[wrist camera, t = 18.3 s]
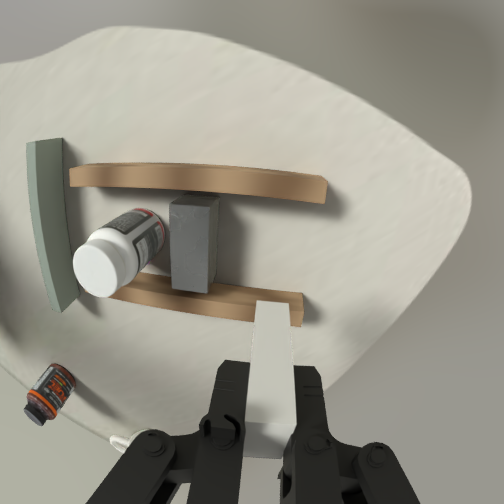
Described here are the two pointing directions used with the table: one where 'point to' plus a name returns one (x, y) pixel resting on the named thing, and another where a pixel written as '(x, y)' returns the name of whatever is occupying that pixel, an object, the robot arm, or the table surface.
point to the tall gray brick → (193, 242)
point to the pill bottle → (118, 252)
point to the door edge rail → (51, 221)
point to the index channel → (212, 180)
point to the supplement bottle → (49, 394)
